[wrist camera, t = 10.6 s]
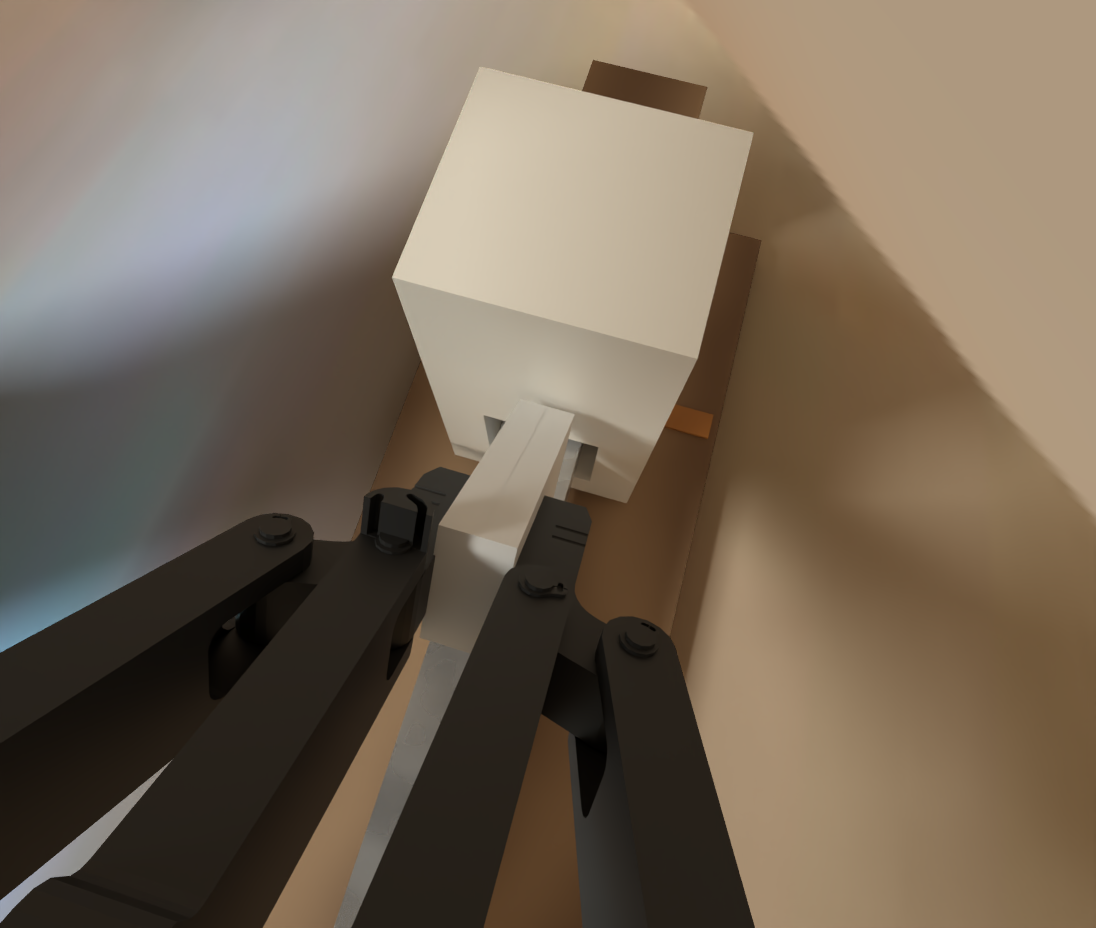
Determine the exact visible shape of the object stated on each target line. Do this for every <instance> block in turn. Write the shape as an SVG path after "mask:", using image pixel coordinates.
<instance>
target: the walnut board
mask: <svg viewBox="0 0 1096 928" xmlns="http://www.w3.org/2000/svg"><path fill="white" fill-rule="evenodd" d="M706 90H707V87H705V86H700V85H696V84H692V83H688V82H684V81H679V80H675V79H671V78H667V77H663V76H658V75H654V74H650V73H646V72H641V71H637V70H633V69H629V68H625V67H620V66H616V65H612V64H608V63H604V62H599V61H595V60H593V62H592V65H591V67H590V70H589V73H588V76H587V79H586V81H585V84H584V87H583V90H582V91H584V92H588V93H592V94H596V95H600V96H605V97H609V98H613V99H617V100H621V101H625V102H629V103H634V104H638V105H642V106H646V107H650V108H654V109H658V110H663V111H667V112H671V113H675V114H679V115H683V116H687V117H692V118H696V119H699V115H700V111H701V108H702V104H703V101H704V97H705V94H706ZM760 244H761V240H758V239H754V238H750V237H746V236H742V235H738V234H734V233H730V232H729V235H728V239H727V243H726V247H725V251H724V255H723V259H722V263H721V267H720V271H719V275H718V279H717V283H716V287H715V291H714V295H713V299H712V303H711V307H710V311H709V315H708V319H707V323H706V327H705V331H704V335H703V339H702V343H701V347H700V351H699V355H698V359H697V361H696V363H695V365H694V367H693V369H692V371H691V373H690V375H689V377H688V379H687V381H686V383H685V385H684V387H683V390H682V392H681V394H680V396H679V398H678V400H677V402H676V404H675V406H674V408H673V410H672V412H671V414H670V416H669V418H668V420H667V422H666V424H665V426H664V428H663V430H662V432H661V434H660V436H659V438H658V440H657V442H656V445H655V447H654V449H653V451H652V453H651V455H650V457H649V459H648V461H647V463H646V465H645V467H644V469H643V471H642V473H641V475H640V477H639V479H638V481H637V483H636V485H635V487H634V489H633V491H632V493H631V495H630V497H629V499H628V502H627V503H623V502H620V501H616V500H613V499H609V498H606V497H602V496H599V495H595V494H592V493H588V492H585V491H581V490H578V489H574V488H571V489H570V492H569V496H568V499H567V502H569V503H573V504H576V505H580V506H583V507H586V508H587V510H588V513H589V515H590V518H591V520H592V523H591V527H590V531H589V534H588V538H587V542H586V546H585V550H584V553H583V557H582V561H581V565H580V568H579V572H578V576H577V580H576V583H575V594H576V597H577V600H578V601H579V603H580V604H581V606H582V607H583V608H584V609H585V610H586V611H587V612H588V613H590V614H591V615H593V616H594V617H596V618H597V619H599V620H600V621H602V622H604V623H606V624H607V623H608V622H609V620H612V619H614V618H617V617H620V616H633V617H637V618H641V619H644V620H648V621H649V622H651V623H653V624H655V625H657V626H658V627H660V628H661V629H662V630H663V631H664V632H665V633H666V634H667V635H668V636H669V637H670V634H671V629H672V625H673V621H674V616H675V612H676V608H677V603H678V599H679V595H680V590H681V586H682V582H683V577H684V573H685V569H686V564H687V560H688V556H689V552H690V547H691V543H692V539H693V534H694V530H695V526H696V521H697V517H698V513H699V508H700V504H701V500H702V495H703V491H704V487H705V482H706V478H707V474H708V469H709V465H710V461H711V456H712V452H713V448H714V443H715V439H716V435H717V430H718V426H719V422H720V417H721V413H722V409H723V404H724V400H725V396H726V391H727V387H728V383H729V378H730V374H731V370H732V365H733V361H734V357H735V352H736V348H737V344H738V339H739V335H740V331H741V326H742V322H743V318H744V313H745V309H746V305H747V300H748V296H749V292H750V287H751V283H752V279H753V274H754V270H755V266H756V261H757V257H758V253H759V248H760ZM478 463H479V461H476V460H472V459H469V458H465V457H462V456H458V455H455V453H454V450H453V448H452V445H451V442H450V439H449V436H448V434H447V431H446V428H445V425H444V422H443V419H442V417H441V414H440V411H439V408H438V405H437V403H436V400H435V397H434V394H433V391H432V389H431V386H430V383H429V380H428V377H427V374H426V372H425V369H424V366H423V363H422V360H421V361H420V364H419V366H418V369H417V372H416V374H415V377H414V379H413V382H412V385H411V387H410V390H409V392H408V395H407V398H406V400H405V403H404V405H403V408H402V410H401V413H400V416H399V418H398V421H397V423H396V426H395V429H394V431H393V434H392V436H391V439H390V441H389V444H388V447H387V449H386V452H385V454H384V457H383V460H382V462H381V465H380V467H379V470H378V472H377V475H376V478H375V480H374V483H373V485H372V488H371V491H373V490H377V489H381V488H389V487H399V488H405V489H410V490H411V489H412V488H413V487H415V484H416V483H417V482H418V481H419V479H420V478H421V477H422V476H423V474H425V473H427V472H429V471H431V470H434V469H436V468H438V467H443V468H446V469H450V470H453V471H457V472H460V473H464V474H467V475H471V474H472V473H473V471H474V470H475V468H476V467H477V465H478ZM371 491H370V492H371ZM362 513H363V511H362ZM361 522H362V514H361V516H360V519H359V522H358V524H357V527H356V529H355V532H354V535H353V537H352V540H351V541H354V540H355V539H356V538H357V537H358V535H359V534H360V532H361ZM421 625H422V621H421V623H420V625H419V627H418V629H417V630H416V632H415V634H414V638H413V644H412V649H411V653H410V657H409V658H408V660H407V662H406V664H405V666H404V668H403V670H402V671H401V673H400V675H399V677H398V679H397V681H396V682H395V684H394V686H393V688H392V690H391V692H390V694H389V695H388V697H387V699H386V701H385V703H384V705H383V707H382V708H381V710H380V712H379V714H378V716H377V718H376V719H375V721H374V723H373V725H372V727H371V729H370V731H369V732H368V734H367V736H366V738H365V740H364V742H363V743H362V745H361V747H360V749H359V751H358V753H357V755H356V756H355V758H354V760H353V762H352V764H351V766H350V768H349V769H348V771H347V773H346V775H345V777H344V779H343V780H342V782H341V784H340V786H339V788H338V790H337V792H336V793H335V795H334V797H333V799H332V801H331V803H330V805H329V806H328V808H327V810H326V812H325V814H324V816H323V817H322V819H321V821H320V823H319V825H318V827H317V829H316V830H315V832H314V834H313V836H312V838H311V840H310V841H309V843H308V845H307V847H306V849H305V851H304V853H303V854H302V856H301V858H300V860H299V862H298V864H297V866H296V867H295V869H294V871H293V873H292V875H291V877H290V878H289V880H288V882H287V884H286V886H285V888H284V890H283V891H282V893H281V895H280V897H279V899H278V901H277V903H276V904H275V906H274V908H273V910H272V912H271V914H270V915H269V917H268V919H267V921H266V923H265V925H264V927H263V928H334V925H335V922H336V919H337V916H338V913H339V910H340V907H341V904H342V901H343V898H344V895H345V892H346V889H347V886H348V883H349V880H350V877H351V874H352V871H353V868H354V865H355V862H356V859H357V856H358V853H359V850H360V847H361V844H362V841H363V839H364V836H365V833H366V830H367V827H368V824H369V821H370V818H371V815H372V812H373V809H374V806H375V803H376V800H377V797H378V794H379V791H380V788H381V785H382V782H383V779H384V776H385V773H386V770H387V767H388V764H389V761H390V758H391V755H392V752H393V749H394V746H395V743H396V740H397V737H398V734H399V731H400V728H401V725H402V722H403V719H404V716H405V713H406V710H407V707H408V704H409V701H410V698H411V695H412V692H413V689H414V686H415V684H416V681H417V678H418V675H419V672H420V669H421V666H422V663H423V660H424V657H425V654H426V651H427V648H428V645H429V642H430V641H428V640H425V639H422V638H419V637H420V631H421ZM568 735H569V732H568V731H567V730H565V729H564V728H562V727H561V726H559V725H558V724H556V723H554V722H553V721H551V720H550V719H548V718H547V717H545V716H544V715H542V714H541V716H540V720H539V723H538V727H537V731H536V735H535V738H534V742H533V746H532V750H531V753H530V757H529V761H528V764H527V768H526V772H525V776H524V779H523V783H522V787H521V790H520V794H519V798H518V802H517V805H516V809H515V813H514V816H513V820H512V824H511V828H510V831H509V835H508V839H507V843H506V846H505V850H504V854H503V857H502V861H501V865H500V869H499V872H498V876H497V880H496V883H495V887H494V891H493V895H492V898H491V902H490V906H489V909H488V913H487V917H486V921H485V924H484V928H583V927H582V914H581V901H580V889H579V876H578V864H577V851H576V839H575V826H574V814H573V801H572V788H571V776H570V763H569V751H568Z"/></svg>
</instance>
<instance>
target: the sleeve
mask: <svg viewBox="0 0 1096 928" xmlns="http://www.w3.org/2000/svg"><path fill="white" fill-rule="evenodd" d="M753 134H754V132H750V131H745V130H741V129H737V128H733V127H729V126H725V125H721V124H716V123H712V122H708V121H704V120H700V119H696V118H692V117H687V116H683V115H679V114H675V113H671V112H667V111H663V110H658V109H654V108H650V107H646V106H642V105H638V104H634V103H629V102H625V101H621V100H617V99H613V98H609V97H605V96H600V95H596V94H592V93H588V92H584V91H580V90H576V89H571V88H567V87H563V86H559V85H555V84H551V83H547V82H542V81H538V80H534V79H530V78H526V77H522V76H518V75H513V74H509V73H505V72H501V71H497V70H493V69H489V68H484V67H480V68H479V71H478V73H477V75H476V78H475V80H474V83H473V85H472V87H471V90H470V92H469V95H468V97H467V99H466V102H465V104H464V106H463V109H462V111H461V114H460V116H459V118H458V121H457V123H456V126H455V128H454V130H453V133H452V135H451V138H450V140H449V142H448V145H447V147H446V149H445V152H444V154H443V157H442V159H441V161H440V164H439V166H438V169H437V171H436V173H435V176H434V178H433V181H432V183H431V185H430V188H429V190H428V193H427V195H426V197H425V200H424V202H423V204H422V207H421V209H420V212H419V214H418V216H417V219H416V221H415V224H414V226H413V228H412V231H411V233H410V236H409V238H408V240H407V243H406V245H405V247H404V250H403V252H402V255H401V257H400V259H399V262H398V264H397V267H396V269H395V271H394V274H393V276H392V279H393V282H394V284H395V287H396V290H397V293H398V296H399V298H400V301H401V304H402V307H403V310H404V313H405V315H406V318H407V321H408V324H409V327H410V329H411V332H412V335H413V338H414V341H415V343H416V346H417V349H418V352H419V355H420V358H421V360H422V363H423V366H424V369H425V372H426V374H427V377H428V380H429V383H430V386H431V389H432V391H433V394H434V397H435V400H436V403H437V405H438V408H439V411H440V414H441V417H442V419H443V422H444V425H445V428H446V431H447V434H448V436H449V439H450V442H451V445H452V448H453V450H454V453H455V455H458V456H462V457H465V458H469V459H472V460H476V461H479V462H480V460H481V459H482V457H483V456H484V454H485V453H486V451H487V450H488V448H489V447H490V445H491V444H492V442H493V441H494V439H495V437H496V436H497V434H498V433H499V431H500V430H501V427H502V424H503V421H507V419H508V418H509V416H510V415H511V413H512V411H513V410H514V408H515V407H516V405H517V404H518V402H519V401H520V399H522V400H526V401H529V402H533V403H537V404H540V405H544V406H547V407H551V408H554V409H558V410H562V411H565V412H569V413H572V414H575V415H574V419H573V423H572V427H571V431H570V435H569V439H571V440H574V441H578V442H581V443H584V445H583V448H582V452H581V455H580V458H579V462H578V465H577V469H576V472H575V475H574V479H573V482H572V486H571V488H574V489H578V490H581V491H585V492H588V493H592V494H595V495H599V496H602V497H606V498H609V499H613V500H616V501H620V502H623V503H627V502H628V499H629V497H630V495H631V493H632V491H633V489H634V487H635V485H636V483H637V481H638V479H639V477H640V475H641V473H642V471H643V469H644V467H645V465H646V463H647V461H648V459H649V457H650V455H651V453H652V451H653V449H654V447H655V445H656V442H657V440H658V438H659V436H660V434H661V432H662V430H663V428H664V426H665V424H666V422H667V420H668V418H669V416H670V414H671V412H672V410H673V408H674V406H675V404H676V402H677V400H678V398H679V396H680V394H681V392H682V390H683V387H684V385H685V383H686V381H687V379H688V377H689V375H690V373H691V371H692V369H693V367H694V365H695V363H696V361H697V359H698V355H699V351H700V347H701V343H702V339H703V335H704V331H705V327H706V323H707V319H708V315H709V311H710V307H711V303H712V299H713V295H714V291H715V287H716V283H717V279H718V275H719V271H720V267H721V263H722V259H723V255H724V251H725V247H726V243H727V239H728V235H729V231H730V226H731V222H732V218H733V214H734V210H735V206H736V202H737V198H738V194H739V190H740V186H741V182H742V178H743V174H744V170H745V166H746V162H747V158H748V154H749V150H750V146H751V142H752V138H753Z"/></svg>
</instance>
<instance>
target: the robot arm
mask: <svg viewBox="0 0 1096 928" xmlns="http://www.w3.org/2000/svg"><path fill="white" fill-rule="evenodd" d="M574 415H575V414H572V413H569V412H565V411H562V410H558V409H554V408H551V407H547V406H544V405H540V404H537V403H533V402H529V401H526V400H522V399H520V401H519V402H518V404H517V405H516V407H515V408H514V410H513V411H512V413H511V415H510V416H509V418H508V419H507V421H506V422H505V424H504V425H503V427H502V428H501V430H500V431H499V433H498V434H497V436H496V437H495V439H494V441H493V442H492V444H491V445H490V447H489V448H488V450H487V451H486V453H485V454H484V456H483V457H482V459H481V460H480V462H479V463H478V465H477V467H476V468H475V470H474V471H473V473H472V474H471V475H467V474H464V473H460V472H457V471H453V470H450V469H446V468H443V467H438V468H436V469H434V470H431V471H429V472H427V473H425V474H423V476H422V477H421V478H420V479H419V481H418V482H417V483H416V484H415V487H413V488H412V489H411V490H410V489H405V488H399V487H389V488H381V489H377V490H373V491H371V492H370V493H368V494H367V495H366V496H364V503H363V513H362V522H361V532H360V534H359V535H358V537H357V538H356V539H355V540H354V541H349V542H334V541H322V540H313V536H314V532H313V530H312V528H311V526H310V525H309V524H308V523H307V522H305V521H304V520H303V519H301V518H298V517H295V516H292V515H289V514H278V513H272V514H264V515H259V516H256V517H253V518H250V519H248V520H246V521H244V522H242V523H240V524H238V525H236V526H235V527H233V528H231V529H229V530H227V531H225V532H223V533H222V534H220V535H218V536H216V537H214V538H212V539H211V540H209V541H207V542H205V543H203V544H201V545H199V546H198V547H196V548H194V549H192V550H190V551H188V552H186V553H185V554H183V555H181V556H179V557H177V558H175V559H173V560H172V561H170V562H168V563H166V564H164V565H162V566H160V567H159V568H157V569H155V570H153V571H151V572H149V573H147V574H146V575H144V576H142V577H140V578H138V579H136V580H134V581H133V582H131V583H129V584H127V585H125V586H123V587H121V588H120V589H118V590H116V591H114V592H112V593H110V594H108V595H107V596H105V597H103V598H101V599H99V600H97V601H95V602H94V603H92V604H90V605H88V606H86V607H84V608H82V609H81V610H79V611H77V612H75V613H73V614H71V615H69V616H68V617H66V618H64V619H62V620H60V621H58V622H56V623H55V624H53V625H51V626H49V627H47V628H45V629H43V630H42V631H40V632H38V633H36V634H34V635H32V636H30V637H29V638H27V639H25V640H23V641H21V642H19V643H17V644H16V645H14V646H12V647H10V648H8V649H6V650H4V651H3V652H1V653H0V900H1V899H2V898H4V897H5V896H6V895H7V894H9V893H10V892H11V891H12V890H13V889H15V888H16V887H17V886H18V885H20V884H21V883H22V882H23V881H24V880H26V879H27V878H28V877H29V876H31V875H32V874H33V873H34V872H35V871H37V870H38V869H39V868H40V867H42V866H43V865H44V864H45V863H46V862H48V861H49V860H50V859H51V858H53V857H54V856H55V855H56V854H57V853H59V852H60V851H61V850H62V849H64V848H65V847H66V846H67V845H68V844H70V843H71V842H72V841H73V840H75V839H76V838H77V837H78V836H79V835H81V834H82V833H83V832H84V831H86V830H87V829H88V828H89V827H90V826H92V825H93V824H94V823H95V822H97V821H98V820H99V819H100V818H101V817H103V816H104V815H105V814H106V813H108V812H109V811H110V810H111V809H112V808H114V807H115V806H116V805H117V804H118V803H120V802H121V801H122V800H123V799H125V798H126V797H127V796H128V795H129V794H131V793H132V792H133V791H134V790H136V789H137V788H138V787H139V786H140V785H142V784H143V783H144V782H145V781H147V780H148V779H149V778H150V777H151V776H153V775H154V774H155V773H156V772H158V771H159V770H160V769H161V768H162V767H164V766H165V765H166V764H167V763H169V762H170V761H171V760H172V759H173V758H174V759H173V760H172V761H171V762H170V763H169V765H168V766H167V767H166V768H165V769H164V771H163V772H162V773H161V774H160V775H159V777H158V778H157V779H156V780H155V781H154V783H153V784H152V785H151V786H150V788H149V789H148V790H147V791H146V792H145V794H144V795H143V796H142V797H141V798H140V800H139V801H138V802H137V803H136V804H135V806H134V807H133V808H132V809H131V810H130V812H129V813H128V814H127V815H126V816H125V818H124V819H123V820H122V821H121V822H120V824H119V825H118V826H117V827H116V829H115V830H114V831H113V832H112V833H111V835H110V836H109V837H108V838H107V839H106V841H105V842H104V843H103V844H102V845H101V847H100V848H99V849H98V850H97V851H96V853H95V854H94V855H93V856H92V857H91V859H90V860H89V861H88V862H87V863H86V864H85V865H84V866H83V867H82V868H81V869H80V870H79V871H77V872H76V873H74V874H72V875H71V876H64V877H54V878H50V879H48V880H46V881H45V882H43V883H42V884H40V885H39V886H37V887H35V888H34V889H33V890H32V891H31V892H30V893H29V894H27V895H26V896H25V897H24V898H23V899H22V900H21V901H20V902H19V903H18V904H17V905H16V906H15V907H14V908H13V909H12V910H11V912H10V913H9V914H8V915H7V916H6V917H5V918H4V920H3V921H2V922H1V923H0V928H263V927H264V925H265V923H266V921H267V919H268V917H269V915H270V914H271V912H272V910H273V908H274V906H275V904H276V903H277V901H278V899H279V897H280V895H281V893H282V891H283V890H284V888H285V886H286V884H287V882H288V880H289V878H290V877H291V875H292V873H293V871H294V869H295V867H296V866H297V864H298V862H299V860H300V858H301V856H302V854H303V853H304V851H305V849H306V847H307V845H308V843H309V841H310V840H311V838H312V836H313V834H314V832H315V830H316V829H317V827H318V825H319V823H320V821H321V819H322V817H323V816H324V814H325V812H326V810H327V808H328V806H329V805H330V803H331V801H332V799H333V797H334V795H335V793H336V792H337V790H338V788H339V786H340V784H341V782H342V780H343V779H344V777H345V775H346V773H347V771H348V769H349V768H350V766H351V764H352V762H353V760H354V758H355V756H356V755H357V753H358V751H359V749H360V747H361V745H362V743H363V742H364V740H365V738H366V736H367V734H368V732H369V731H370V729H371V727H372V725H373V723H374V721H375V719H376V718H377V716H378V714H379V712H380V710H381V708H382V707H383V705H384V703H385V701H386V699H387V697H388V695H389V694H390V692H391V690H392V688H393V686H394V684H395V682H396V681H397V679H398V677H399V675H400V673H401V671H402V670H403V668H404V666H405V664H406V662H407V660H408V658H409V657H410V653H411V649H412V644H413V638H414V634H415V632H416V630H417V629H418V627H419V625H420V623H421V621H422V625H421V631H420V637H419V638H422V639H425V640H428V641H432V642H435V643H438V644H441V645H444V646H448V647H451V648H454V649H457V650H461V651H464V652H467V653H470V656H469V658H468V660H467V663H466V665H465V667H464V670H463V672H462V674H461V677H460V679H459V681H458V683H457V686H456V688H455V690H454V693H453V695H452V697H451V700H450V702H449V704H448V706H447V709H446V711H445V713H444V716H443V718H442V720H441V723H440V725H439V727H438V729H437V732H436V734H435V736H434V739H433V741H432V743H431V746H430V748H429V750H428V752H427V755H426V757H425V759H424V762H423V764H422V766H421V769H420V771H419V773H418V775H417V778H416V780H415V782H414V785H413V787H412V789H411V792H410V794H409V796H408V798H407V801H406V803H405V805H404V808H403V810H402V812H401V815H400V817H399V819H398V821H397V824H396V826H395V828H394V831H393V833H392V835H391V838H390V840H389V842H388V844H387V847H386V849H385V851H384V854H383V856H382V858H381V860H380V863H379V865H378V867H377V870H376V872H375V874H374V877H373V879H372V881H371V883H370V886H369V888H368V890H367V893H366V895H365V897H364V900H363V902H362V904H361V906H360V909H359V911H358V913H357V916H356V918H355V920H354V923H353V925H352V927H351V928H484V924H485V921H486V917H487V913H488V909H489V906H490V902H491V898H492V895H493V891H494V887H495V883H496V880H497V876H498V872H499V869H500V865H501V861H502V857H503V854H504V850H505V846H506V843H507V839H508V835H509V831H510V828H511V824H512V820H513V816H514V813H515V809H516V805H517V802H518V798H519V794H520V790H521V787H522V783H523V779H524V776H525V772H526V768H527V764H528V761H529V757H530V753H531V750H532V746H533V742H534V738H535V735H536V731H537V727H538V723H539V720H540V716H541V714H542V715H544V716H545V717H547V718H548V719H550V720H551V721H553V722H554V723H556V724H558V725H559V726H561V727H562V728H564V729H565V730H567V731H568V732H569V735H568V751H569V763H570V776H571V788H572V801H573V814H574V826H575V839H576V851H577V864H578V876H579V889H580V901H581V914H582V927H583V928H755V926H754V923H753V919H752V916H751V912H750V909H749V905H748V902H747V898H746V895H745V891H744V888H743V884H742V881H741V877H740V874H739V870H738V867H737V863H736V860H735V856H734V853H733V849H732V846H731V842H730V838H729V835H728V831H727V828H726V824H725V821H724V817H723V814H722V810H721V807H720V803H719V800H718V796H717V793H716V789H715V786H714V782H713V779H712V775H711V772H710V768H709V765H708V761H707V758H706V754H705V751H704V747H703V744H702V740H701V736H700V733H699V729H698V726H697V722H696V719H695V715H694V712H693V708H692V705H691V701H690V698H689V694H688V691H687V687H686V684H685V680H684V677H683V673H682V670H681V666H680V663H679V659H678V656H677V652H676V649H675V646H674V644H673V642H672V640H671V638H670V637H669V636H668V635H667V634H666V633H665V632H664V631H663V630H662V629H661V628H660V627H658V626H657V625H655V624H653V623H651V622H649V621H648V620H644V619H641V618H637V617H633V616H620V617H617V618H614V619H612V620H609V622H608V623H607V624H606V623H604V622H602V621H600V620H599V619H597V618H596V617H594V616H593V615H591V614H590V613H588V612H587V611H586V610H585V609H584V608H583V607H582V606H581V604H580V603H579V601H578V600H577V597H576V594H575V583H576V580H577V576H578V572H579V568H580V565H581V561H582V557H583V553H584V550H585V546H586V542H587V538H588V534H589V531H590V527H591V523H592V520H591V518H590V515H589V513H588V510H587V508H586V507H583V506H580V505H576V504H573V503H569V502H566V501H562V500H559V499H555V498H553V497H554V493H555V489H556V486H557V482H558V478H559V474H560V470H561V466H562V462H563V458H564V454H565V451H566V447H567V443H568V439H569V435H570V431H571V427H572V423H573V419H574ZM233 617H234V618H233ZM230 619H231V620H230ZM227 621H228V622H227Z"/></svg>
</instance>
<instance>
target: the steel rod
mask: <svg viewBox="0 0 1096 928" xmlns="http://www.w3.org/2000/svg"><path fill="white" fill-rule="evenodd" d="M505 422H506V421H503V424H502V427H503V425H504V424H505ZM502 427H501V428H502ZM583 445H584V443H581V442H578V441H574V440H571V439H568V443H567V447H566V451H565V454H564V458H563V462H562V466H561V470H560V474H559V478H558V482H557V486H556V489H555V493H554V497H553V498H555V499H559V500H562V501H566V502H567V499H568V496H569V492H570V489H571V486H572V482H573V479H574V475H575V472H576V469H577V465H578V462H579V458H580V455H581V452H582V448H583ZM469 656H470V653H467V652H464V651H461V650H457V649H454V648H451V647H448V646H444V645H441V644H438V643H435V642H432V641H430V642H429V645H428V648H427V651H426V654H425V657H424V660H423V663H422V666H421V669H420V672H419V675H418V678H417V681H416V684H415V686H414V689H413V692H412V695H411V698H410V701H409V704H408V707H407V710H406V713H405V716H404V719H403V722H402V725H401V728H400V731H399V734H398V737H397V740H396V743H395V746H394V749H393V752H392V755H391V758H390V761H389V764H388V767H387V770H386V773H385V776H384V779H383V782H382V785H381V788H380V791H379V794H378V797H377V800H376V803H375V806H374V809H373V812H372V815H371V818H370V821H369V824H368V827H367V830H366V833H365V836H364V839H363V841H362V844H361V847H360V850H359V853H358V856H357V859H356V862H355V865H354V868H353V871H352V874H351V877H350V880H349V883H348V886H347V889H346V892H345V895H344V898H343V901H342V904H341V907H340V910H339V913H338V916H337V919H336V922H335V925H334V928H351V927H352V925H353V923H354V920H355V918H356V916H357V913H358V911H359V909H360V906H361V904H362V902H363V900H364V897H365V895H366V893H367V890H368V888H369V886H370V883H371V881H372V879H373V877H374V874H375V872H376V870H377V867H378V865H379V863H380V860H381V858H382V856H383V854H384V851H385V849H386V847H387V844H388V842H389V840H390V838H391V835H392V833H393V831H394V828H395V826H396V824H397V821H398V819H399V817H400V815H401V812H402V810H403V808H404V805H405V803H406V801H407V798H408V796H409V794H410V792H411V789H412V787H413V785H414V782H415V780H416V778H417V775H418V773H419V771H420V769H421V766H422V764H423V762H424V759H425V757H426V755H427V752H428V750H429V748H430V746H431V743H432V741H433V739H434V736H435V734H436V732H437V729H438V727H439V725H440V723H441V720H442V718H443V716H444V713H445V711H446V709H447V706H448V704H449V702H450V700H451V697H452V695H453V693H454V690H455V688H456V686H457V683H458V681H459V679H460V677H461V674H462V672H463V670H464V667H465V665H466V663H467V660H468V658H469Z"/></svg>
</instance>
